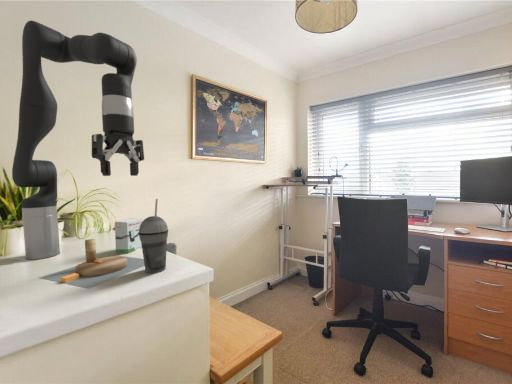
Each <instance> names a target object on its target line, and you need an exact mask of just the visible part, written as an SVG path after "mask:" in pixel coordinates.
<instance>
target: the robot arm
mask: <svg viewBox="0 0 512 384" xmlns="http://www.w3.org/2000/svg"><path fill="white" fill-rule="evenodd" d="M22 30H23V31H22V37H21V38H22V39H21V40H22V42H21V46H22V48H21V50H22V53H21V54H22V77H21V88H20V90H21V91H20V98H19V110H18V131H17V140H16V146H15V152H14V158H13V163H12V169H11V170H12V171H11V176H12V177H11V178H12V181H13V183H14V185H15V186H17V187H19V188H38V191H37V192H36V193H35V194H33V195H31V196H28V197H25V198H23V199H22V200H21V203H20V204H21V215H22V217H21V218H22V226H23V227H22V228H23V238H24V239H23V241H24V253H25V260H40V259H46V258H51V257H54V256H58V255H60V253H61V248H60V234H59V233H60V232H59V223H58V222H59V217H58V207H57V200H58V171H57V168H56V165H55V164H54V163H53V161H50V160H43V159H33V158H34V157H33V156H34V153H35V151H36V148H37V147H38V145H39V144H40V143H41V142H42V141H43V140H44V139H45V137H47V136H48V134H49V133H50V132H52V130H53V129H54V127H56V123H57V114H58V102H57V100H56V98H55V95H54V93H53V92H52V89H51V88H50V86H49V84H48V83H47V80H46V78H45V75H44V73H43V66H42V58H43V59H45V60H47V61H48V60H49V61H51V62H55V63H58V64H59V63H61V64H62V63H72V62H82V63H86V64H93V65H108V66H109V67H113V68H115V70H116V72H115V73H113V72H108V73H105V74H103V75H102V77H101V94H102V95H101V97H102V99H101V119H102V131H103V134H102V133H95V134H92V135H91V157H92V159H96V160H98V161H99V163H100V164H99V165H100V172H101V174H102V176H103V177H111V175H112V174H111V172H112V171H111V161H109V160H110V159H111V158H112V156H114V154H120V155H124V156H125V157H126V158H127V159H128V160H129V173H130V176H131V177H133V176H136V177H137V176H138V174H139V173H140V172H139V169H140V168H139V162H141V161H144V160H145V153H144V142H143V140H142V139H137V140H134V133H135V120H134V117H135V115H134V106H133V97H132V95H133V94H132V83H133V79H134V75H135V71H136V67H137V63H138V59H137V58H138V57H137V54H136V52H135V50H134V48H132V46H131V45H130V44H127V43H126V42H123V41H122V40H119V39H118V38H116V37H114V36H112V35H110V34H108V33H104V32H96V33H94V34H91V35H87V34H77V35H74V36H72V37H71V38H70V37H68V36H66V35H65V34H63V33H61V32H60V31H58V30H56V29H54V28H51V27H49V26H47V25H44V24H42V23H40V22H38V21H35V20H28V21H27V22H26V23H25V25H24V26H23V29H22ZM104 144H105V146H104Z"/></svg>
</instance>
